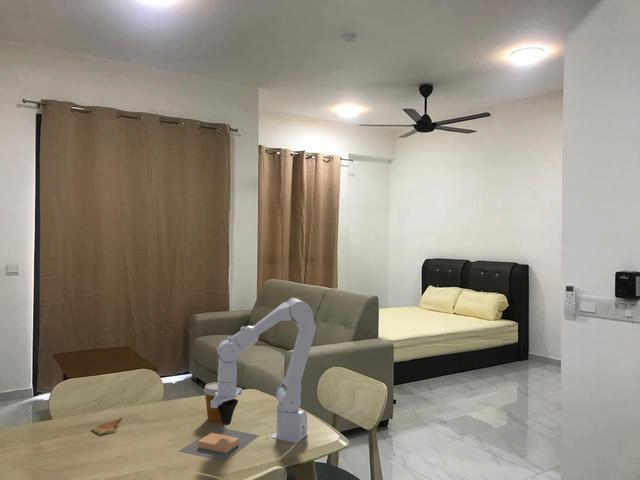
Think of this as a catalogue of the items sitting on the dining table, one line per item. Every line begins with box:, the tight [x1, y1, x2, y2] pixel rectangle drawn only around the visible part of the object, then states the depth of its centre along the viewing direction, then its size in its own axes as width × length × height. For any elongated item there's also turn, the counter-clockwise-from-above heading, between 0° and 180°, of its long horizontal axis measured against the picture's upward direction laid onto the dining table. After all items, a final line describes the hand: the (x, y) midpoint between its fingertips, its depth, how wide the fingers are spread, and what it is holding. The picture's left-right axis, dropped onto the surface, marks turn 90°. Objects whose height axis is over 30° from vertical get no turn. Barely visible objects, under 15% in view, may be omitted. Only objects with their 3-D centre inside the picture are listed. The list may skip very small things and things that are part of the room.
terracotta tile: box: [198, 433, 239, 454], centre depth 150 cm, size 10×2×7 cm
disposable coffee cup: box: [203, 381, 222, 424], centre depth 173 cm, size 10×10×12 cm
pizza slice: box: [91, 417, 123, 435], centre depth 164 cm, size 11×8×2 cm
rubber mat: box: [178, 426, 260, 462], centre depth 153 cm, size 16×20×1 cm
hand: (226, 423), depth 154 cm, fingers closed
